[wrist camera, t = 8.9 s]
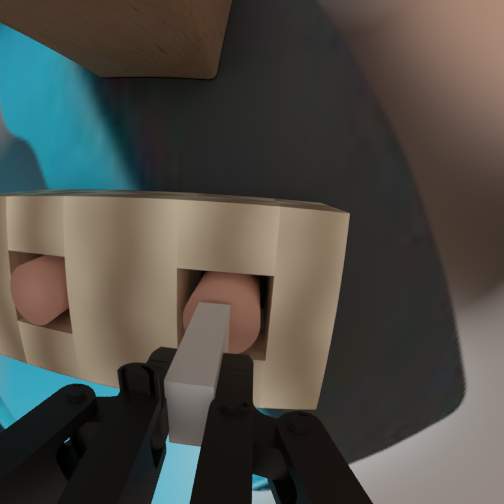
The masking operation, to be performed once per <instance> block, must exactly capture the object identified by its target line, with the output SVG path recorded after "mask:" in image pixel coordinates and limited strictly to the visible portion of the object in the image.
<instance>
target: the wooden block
mask: <svg viewBox="0 0 504 504" xmlns="http://www.w3.org/2000/svg"><path fill="white" fill-rule="evenodd" d="M231 4H232V0H0V23H2V24H4V25H7V26H9V27H10V28H12V29H14V30H16V31H18V32H20V33H22V34H24V35H26V36H28V37H30V38H32V39H34V40H36V41H37V42H39V43H41V44H43V45H45V46H47V47H49V48H50V49H52V50H54V51H56V52H58V53H60V54H61V55H63V56H65V57H67V58H68V59H70V60H72V61H74V62H75V63H77V64H79V65H81V66H82V67H84V68H86V69H88V70H89V71H91V72H93V73H94V74H96V75H98V76H100V77H181V78H199V79H212V78H214V77H215V76H216V74H217V70H218V65H219V60H220V55H221V50H222V45H223V40H224V36H225V31H226V26H227V22H228V17H229V13H230V9H231Z"/></svg>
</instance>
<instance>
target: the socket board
mask: <svg viewBox="0 0 504 504" xmlns="http://www.w3.org/2000/svg"><path fill="white" fill-rule="evenodd" d="M349 216H350V213H347V212H344V211H342V210H339V209H336V208H334V207H331V206H328V205H325V204H322V203H316V202H306V201H296V200H285V199H273V198H261V197H248V196H234V195H218V194H201V193H182V192H160V191H130V190H32V191H22V192H14V193H5V194H0V354H2V355H5V356H7V357H10V358H13V359H16V360H18V361H21V362H25V363H27V364H30V365H33V366H37V367H40V368H43V369H46V370H49V371H53V372H56V373H59V374H63V375H66V376H70V377H74V378H77V379H81V380H85V381H89V382H93V383H97V384H101V385H106V386H110V387H115V388H119V389H120V387H119V381H118V374H117V370H118V369H119V368H120V367H121V366H123V365H125V364H128V363H134V362H140V363H146V362H147V360H148V359H149V357H150V355H151V353H152V352H153V351H155V350H156V349H158V348H159V347H168V348H176V349H178V348H179V345H180V343H181V341H182V339H183V336H184V334H185V329H184V326H183V312H184V309H185V306H186V304H187V302H188V301H189V299H190V297H191V296H192V294H193V292H194V290H195V289H196V287H197V285H198V284H199V282H200V280H201V276H202V270H205V271H217V272H229V273H241V274H254V275H267V281H266V292H265V303H264V308H260V331H259V334H258V336H257V339H256V340H255V342H254V343H253V344H252V345H251V346H250V347H249V348H248V349H247V350H245V351H243V352H241V353H239V354H245V355H249V356H250V358H251V359H252V360H253V362H254V369H253V404H254V406H255V407H259V408H279V409H316V407H317V403H318V399H319V395H320V390H321V386H322V381H323V377H324V372H325V367H326V363H327V358H328V353H329V348H330V342H331V337H332V332H333V326H334V321H335V315H336V309H337V303H338V297H339V291H340V285H341V278H342V271H343V264H344V257H345V249H346V242H347V233H348V225H349ZM44 255H53V256H62V257H65V270H66V282H67V293H68V302H69V308H68V309H67V310H65V311H64V312H62V313H61V314H60V315H58V316H57V317H56V318H54V319H53V320H52V321H50V322H49V323H47V324H45V325H35V324H32V323H30V322H29V321H27V320H26V319H25V318H24V317H23V316H22V315H21V314H20V313H19V311H18V310H17V308H16V306H15V304H14V302H13V299H12V296H11V291H10V280H11V276H12V273H13V271H14V270H15V269H16V268H17V267H18V266H19V265H22V264H24V263H26V262H29V261H31V260H34V259H36V258H39V257H41V256H44Z"/></svg>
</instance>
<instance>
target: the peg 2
mask: <svg viewBox="0 0 504 504" xmlns="http://www.w3.org/2000/svg"><path fill="white" fill-rule="evenodd" d="M199 302H203V303H214V304H226V305H231V307H230V325H229V343H228V353H233V354H239V353H241V352H243V351H245V350H247V349H248V348H249V347H250V346H251V345H252V344H253V343H254V342H255V340H256V339H257V336H258V334H259V331H260V275H254V274H241V273H229V272H217V271H206V272H205V273H204V275H203V277H202V279H201V280H200V282H199V284H198V285H197V287H196V289H195V290H194V292H193V294H192V296H191V297H190V299H189V301H188V302H187V304H186V306H185V309H184V312H183V326H184V329H185V332H186V330H187V328H188V325H189V323H190V321H191V319H192V317H193V314H194V312H195V310H196V308H197V306H198V303H199Z"/></svg>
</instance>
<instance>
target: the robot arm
mask: <svg viewBox="0 0 504 504" xmlns="http://www.w3.org/2000/svg"><path fill="white" fill-rule="evenodd" d="M230 307H231V305H226V304H214V303H203V302H199V303H198V306H197V308H196V310H195V312H194V314H193V317H192V319H191V321H190V323H189V325H188V328H187V330H186V332H185V334H184V336H183V339H182V341H181V343H180V345H179V348H178V349H176V348H168V347H159V348H158V349H156V350H155V351H153V352H152V353H151V355H150V357H149V359H148V360H147V362H146V363H140V362H134V363H128V364H125V365H123V366H121V367H120V368H119V369H118V370H117V374H118V381H119V387H120V392H119V394H118V396H112V397H96V395H95V392H94V390H93V389H92V388H90V387H89V386H87V385H84V384H70V385H66V386H65V387H63V388H61V389H59V390H58V391H57V392H55V393H54V394H53V395H51V396H50V397H49V398H47V399H46V400H45V401H43V402H42V403H41V404H39V405H38V406H37V407H35V408H34V409H32V410H31V411H30V412H28V413H27V414H26V415H24V416H23V417H22V418H20V419H19V420H17V421H16V422H15V423H13V424H12V425H11V426H9V427H8V428H7V429H5V430H4V431H3V432H1V433H0V504H151V502H152V498H153V495H154V492H155V489H156V485H157V482H158V478H159V475H160V472H161V469H162V465H163V462H164V459H165V455H166V443H165V442H166V439H167V436H168V433H169V442H172V443H179V444H185V445H193V446H200V447H201V450H200V454H199V459H198V464H197V469H196V474H195V479H194V484H193V489H192V494H191V500H190V504H252V474H255V475H258V476H262V477H265V478H267V479H268V483H269V486H270V489H271V491H272V494H273V497H274V499H275V502H276V504H373V503H372V502H371V500H370V498H369V497H368V495H367V494H366V492H365V491H364V489H363V487H362V486H361V485H360V483H359V482H358V480H357V478H356V477H355V475H354V473H353V472H352V470H351V469H350V467H349V466H348V464H347V462H346V461H345V459H344V458H343V456H342V455H341V453H340V451H339V450H338V448H337V447H336V445H335V443H334V442H333V440H332V439H331V437H330V435H329V434H328V432H327V431H326V429H325V427H324V426H323V424H322V423H321V421H320V420H319V419H318V418H317V417H316V416H314V415H312V414H310V413H306V412H302V411H292V412H289V413H285V414H284V415H282V416H281V417H279V419H277V418H273V417H270V416H267V415H264V414H263V413H261V412H259V411H258V410H257V409H256V408H255V406H254V404H253V369H254V362H253V360H252V359H251V358H250V356H249V355H245V354H233V353H228V343H229V325H230ZM68 438H70V439H69V440H68V441H67V442H65V441H66V440H67V439H68ZM64 442H65V443H64Z"/></svg>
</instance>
